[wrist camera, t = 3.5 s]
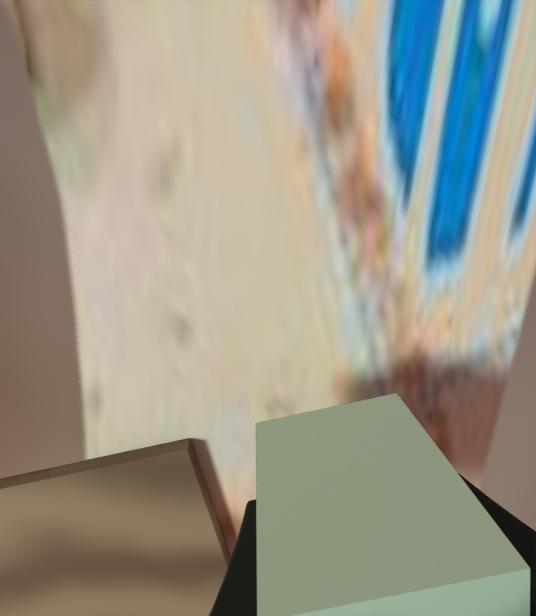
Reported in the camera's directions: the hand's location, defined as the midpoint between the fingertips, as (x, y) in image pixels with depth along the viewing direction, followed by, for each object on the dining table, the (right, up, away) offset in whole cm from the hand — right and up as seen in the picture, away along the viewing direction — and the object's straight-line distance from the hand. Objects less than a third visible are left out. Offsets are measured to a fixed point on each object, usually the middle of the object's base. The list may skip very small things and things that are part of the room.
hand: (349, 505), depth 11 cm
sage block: (0, 0, +2) cm, 2 cm away
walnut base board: (-11, -8, +8) cm, 16 cm away
